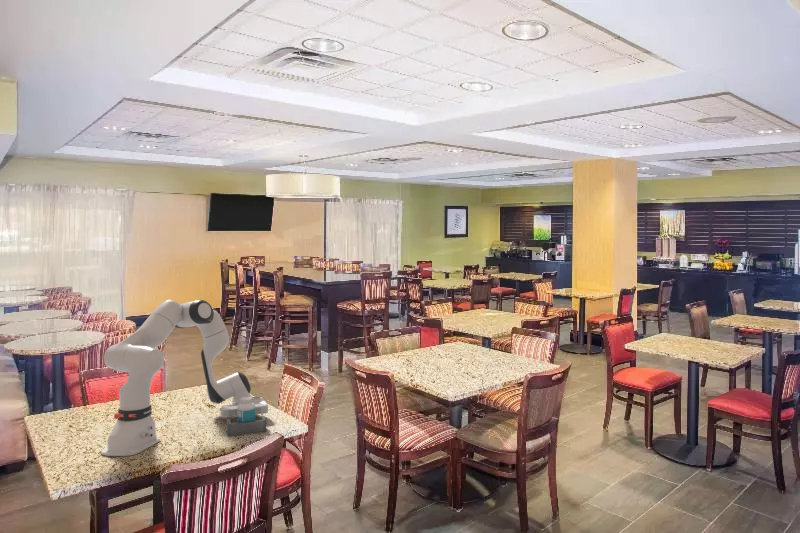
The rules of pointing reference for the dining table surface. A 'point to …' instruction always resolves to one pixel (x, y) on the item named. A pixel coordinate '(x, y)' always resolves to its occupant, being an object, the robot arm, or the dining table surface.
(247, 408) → the pill bottle
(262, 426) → the bracket
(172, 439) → the dining table surface
